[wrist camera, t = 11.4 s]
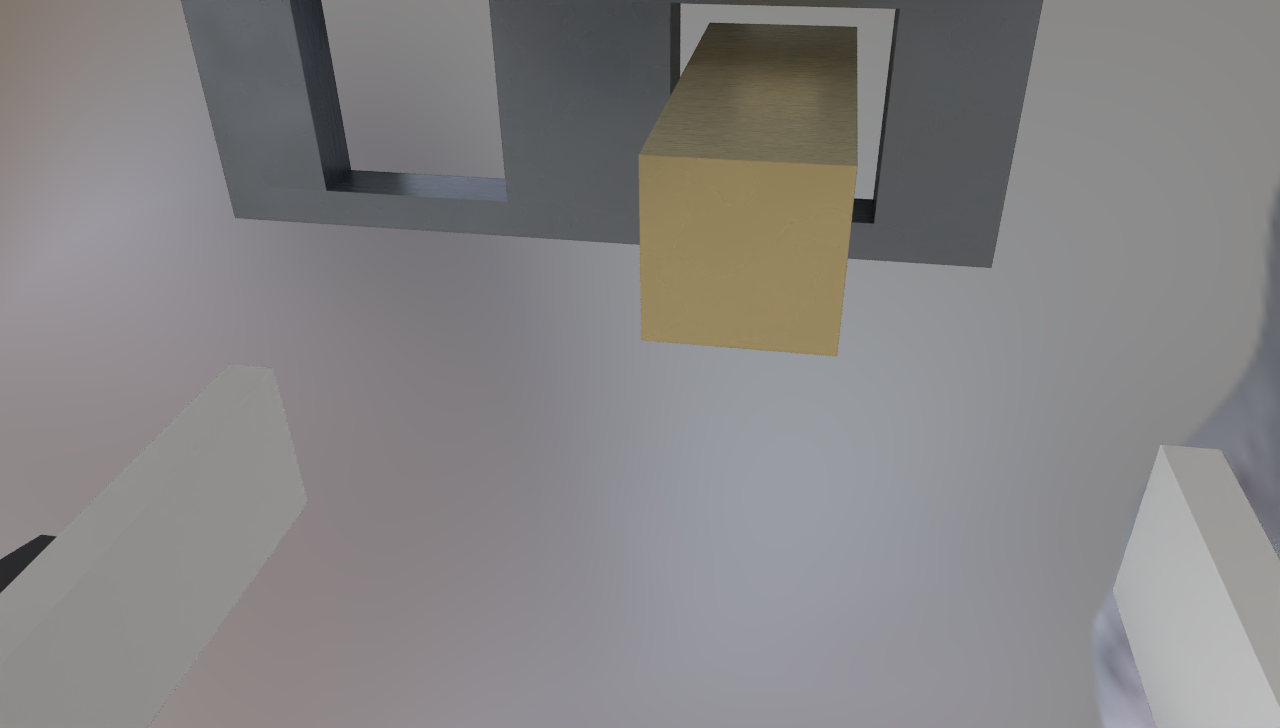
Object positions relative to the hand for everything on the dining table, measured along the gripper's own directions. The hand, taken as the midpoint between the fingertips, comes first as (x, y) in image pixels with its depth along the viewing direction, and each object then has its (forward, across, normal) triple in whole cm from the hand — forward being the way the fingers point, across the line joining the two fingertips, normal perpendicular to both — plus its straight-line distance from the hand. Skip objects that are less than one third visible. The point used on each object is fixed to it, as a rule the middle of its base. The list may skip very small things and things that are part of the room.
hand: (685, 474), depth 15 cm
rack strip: (+20, -6, 0) cm, 21 cm away
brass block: (+20, 0, 0) cm, 20 cm away
